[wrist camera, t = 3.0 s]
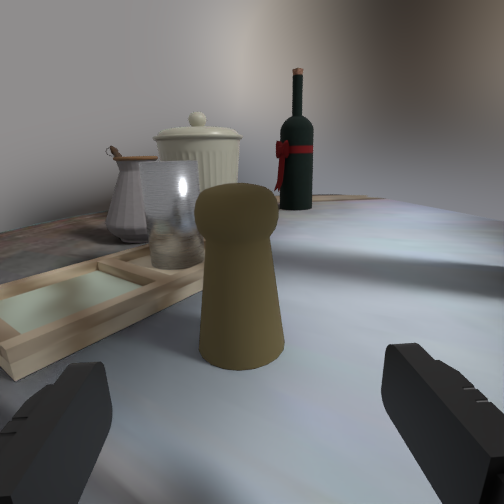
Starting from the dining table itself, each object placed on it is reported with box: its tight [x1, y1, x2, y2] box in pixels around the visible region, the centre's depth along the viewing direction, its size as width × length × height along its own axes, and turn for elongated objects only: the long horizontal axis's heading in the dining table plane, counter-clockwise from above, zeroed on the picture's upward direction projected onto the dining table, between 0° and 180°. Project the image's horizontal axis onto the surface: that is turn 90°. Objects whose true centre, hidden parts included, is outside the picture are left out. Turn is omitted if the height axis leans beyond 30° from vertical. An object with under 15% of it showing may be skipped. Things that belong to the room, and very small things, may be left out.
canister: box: [153, 112, 243, 193], centre depth 66 cm, size 18×18×21 cm
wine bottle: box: [274, 68, 313, 210], centre depth 72 cm, size 8×10×30 cm
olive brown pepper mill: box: [194, 183, 285, 370], centre depth 21 cm, size 6×6×11 cm
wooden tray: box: [0, 238, 206, 381], centre depth 32 cm, size 25×12×2 cm, turn 144°
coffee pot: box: [105, 146, 158, 243], centre depth 54 cm, size 21×12×15 cm, turn 35°
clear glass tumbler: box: [139, 160, 205, 270], centre depth 35 cm, size 6×6×11 cm
